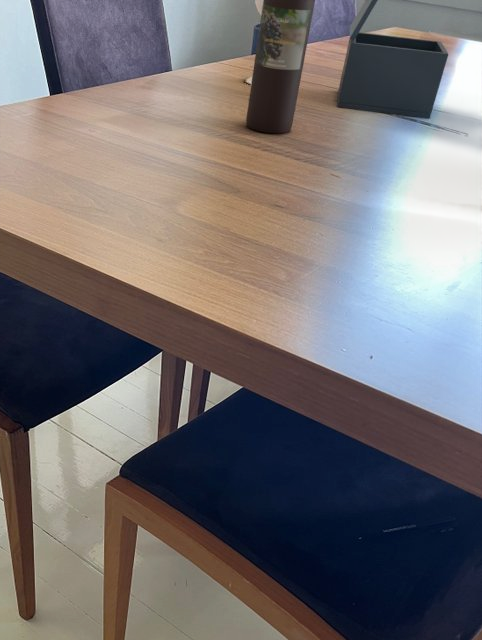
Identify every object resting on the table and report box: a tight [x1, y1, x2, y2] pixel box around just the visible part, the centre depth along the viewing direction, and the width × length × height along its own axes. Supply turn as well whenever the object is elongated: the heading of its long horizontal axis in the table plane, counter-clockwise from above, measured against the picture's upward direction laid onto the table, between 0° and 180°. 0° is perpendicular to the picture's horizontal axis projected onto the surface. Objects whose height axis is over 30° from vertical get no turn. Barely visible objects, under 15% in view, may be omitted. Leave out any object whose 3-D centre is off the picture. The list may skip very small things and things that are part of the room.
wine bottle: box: [245, 0, 316, 135], centre depth 102 cm, size 7×7×30 cm
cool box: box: [336, 31, 449, 119], centre depth 127 cm, size 16×13×10 cm
